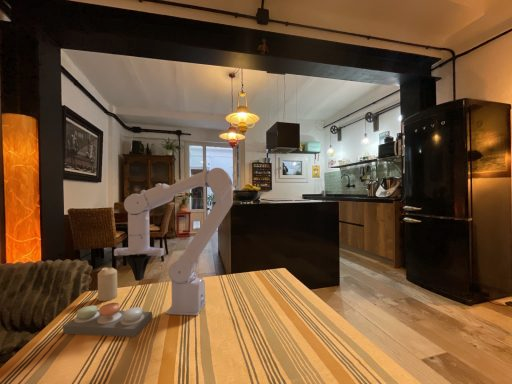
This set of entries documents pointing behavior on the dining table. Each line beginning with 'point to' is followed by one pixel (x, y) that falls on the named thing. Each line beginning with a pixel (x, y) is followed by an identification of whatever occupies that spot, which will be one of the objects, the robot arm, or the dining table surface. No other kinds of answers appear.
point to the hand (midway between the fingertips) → (139, 279)
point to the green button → (86, 312)
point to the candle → (107, 284)
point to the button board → (107, 325)
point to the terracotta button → (109, 309)
